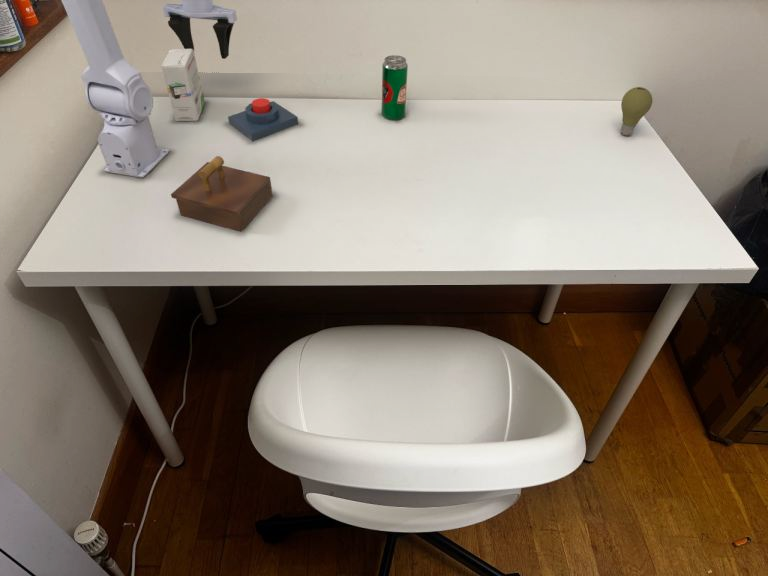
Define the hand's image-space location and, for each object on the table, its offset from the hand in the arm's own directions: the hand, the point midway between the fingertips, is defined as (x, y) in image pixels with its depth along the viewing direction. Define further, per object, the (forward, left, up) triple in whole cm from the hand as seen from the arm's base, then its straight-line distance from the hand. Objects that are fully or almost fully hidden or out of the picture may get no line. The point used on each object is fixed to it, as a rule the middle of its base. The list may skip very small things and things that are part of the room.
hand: (208, 55), depth 117 cm
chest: (-35, -19, -10) cm, 41 cm away
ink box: (-7, +3, -10) cm, 12 cm away
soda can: (+4, -39, -10) cm, 40 cm away
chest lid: (-35, -19, -6) cm, 40 cm away
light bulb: (+9, -87, -10) cm, 88 cm away
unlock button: (-7, -14, -7) cm, 17 cm away
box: (-7, -14, -10) cm, 19 cm away
